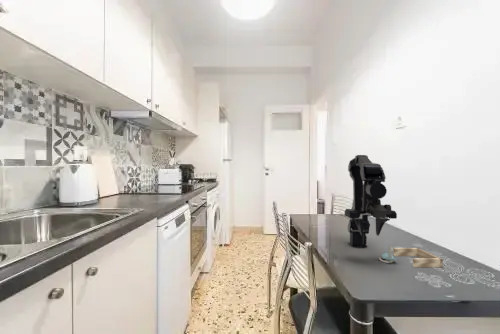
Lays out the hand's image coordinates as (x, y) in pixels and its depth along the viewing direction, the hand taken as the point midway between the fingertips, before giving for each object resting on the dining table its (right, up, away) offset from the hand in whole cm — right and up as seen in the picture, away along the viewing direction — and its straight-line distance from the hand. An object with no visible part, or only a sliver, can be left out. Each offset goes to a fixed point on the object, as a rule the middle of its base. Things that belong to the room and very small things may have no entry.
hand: (369, 235), depth 110 cm
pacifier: (+7, -11, +1) cm, 13 cm away
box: (+19, -10, +1) cm, 22 cm away
